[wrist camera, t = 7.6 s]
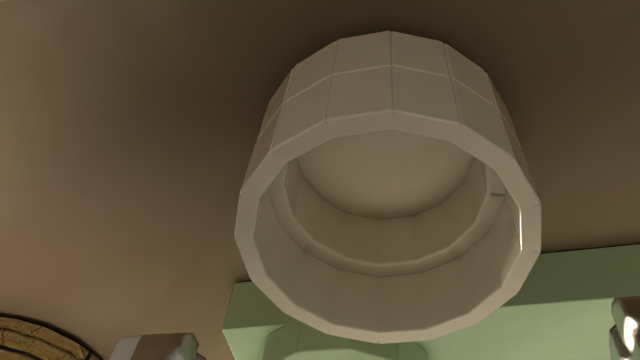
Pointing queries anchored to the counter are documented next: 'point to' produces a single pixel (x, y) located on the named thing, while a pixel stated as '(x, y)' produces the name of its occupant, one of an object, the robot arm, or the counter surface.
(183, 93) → the counter surface
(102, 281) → the counter surface
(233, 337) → the scale
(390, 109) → the bowl
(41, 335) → the wooden mug
